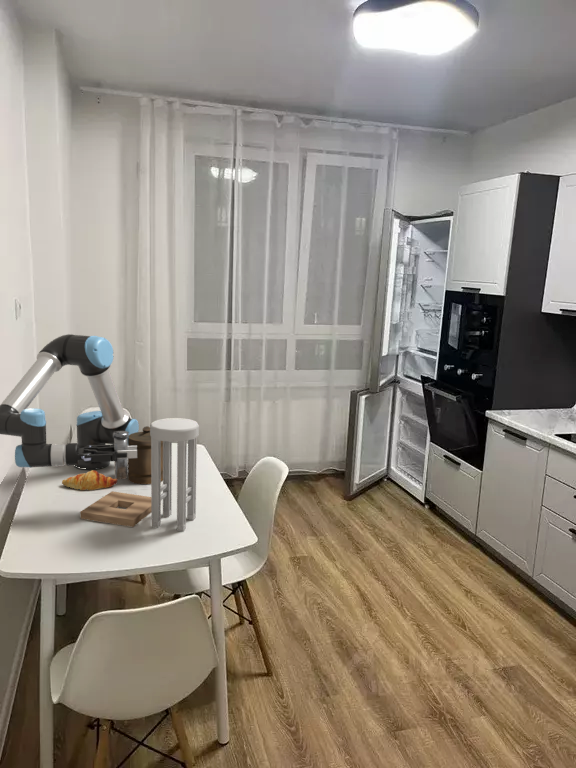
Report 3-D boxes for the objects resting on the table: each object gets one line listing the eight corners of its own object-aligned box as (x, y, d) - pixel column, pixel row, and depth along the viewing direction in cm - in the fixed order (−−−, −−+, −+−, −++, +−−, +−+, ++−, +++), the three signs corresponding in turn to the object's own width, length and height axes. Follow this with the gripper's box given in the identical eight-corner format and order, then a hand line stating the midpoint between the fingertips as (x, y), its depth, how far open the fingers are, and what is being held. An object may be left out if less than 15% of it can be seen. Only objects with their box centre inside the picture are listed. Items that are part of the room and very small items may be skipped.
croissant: (60, 497, 222) (56, 483, 217) (66, 478, 229) (62, 464, 224) (116, 496, 224) (114, 482, 219) (120, 477, 232) (118, 463, 227)
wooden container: (168, 473, 243) (168, 423, 239) (159, 485, 229) (160, 432, 225) (134, 471, 244) (133, 421, 240) (123, 483, 229) (122, 430, 225)
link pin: (118, 473, 203) (118, 430, 200) (131, 475, 202) (131, 431, 199) (110, 478, 198) (109, 434, 196) (124, 480, 197) (123, 435, 194)
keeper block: (112, 497, 215) (111, 491, 214) (160, 504, 210) (160, 498, 209) (80, 518, 196) (80, 511, 195) (133, 527, 191) (133, 520, 190)
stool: (203, 516, 202) (204, 420, 195) (186, 534, 187) (187, 431, 180) (162, 510, 205) (162, 415, 198) (142, 528, 190) (142, 426, 183)
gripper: (68, 457, 203) (136, 454, 209) (63, 473, 186) (137, 470, 193) (67, 436, 201) (136, 434, 208) (62, 451, 185) (137, 448, 191)
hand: (136, 451), depth 200 cm, fingers closed on link pin, 4 cm apart
